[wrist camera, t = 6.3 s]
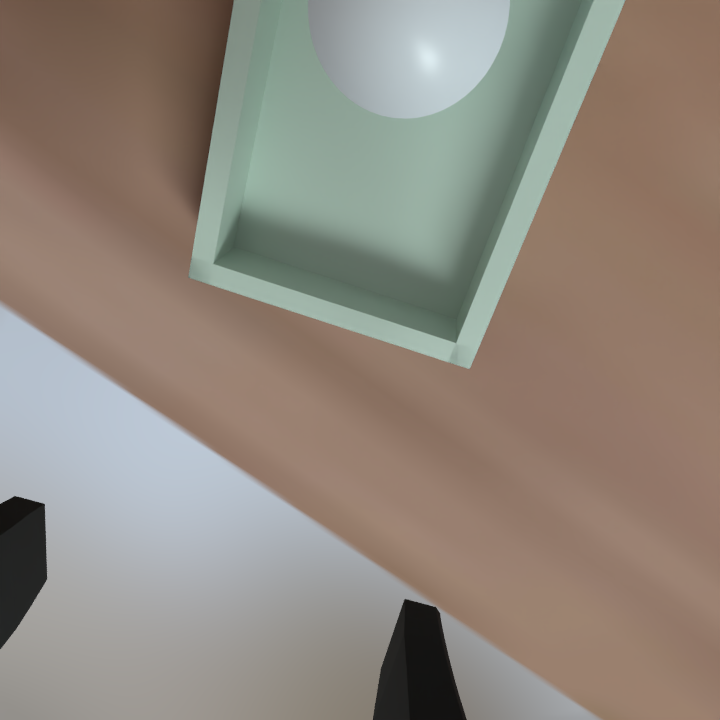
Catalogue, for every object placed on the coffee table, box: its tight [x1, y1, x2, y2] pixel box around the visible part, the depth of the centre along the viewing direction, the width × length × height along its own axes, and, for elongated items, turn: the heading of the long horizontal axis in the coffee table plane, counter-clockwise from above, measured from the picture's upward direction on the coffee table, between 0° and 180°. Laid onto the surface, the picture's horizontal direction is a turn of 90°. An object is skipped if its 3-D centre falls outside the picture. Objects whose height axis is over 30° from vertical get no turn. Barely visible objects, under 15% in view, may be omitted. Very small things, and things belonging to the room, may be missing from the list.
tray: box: [188, 0, 625, 369], centre depth 14 cm, size 8×13×4 cm, turn 164°
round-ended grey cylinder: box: [308, 0, 510, 119], centre depth 13 cm, size 3×3×5 cm
